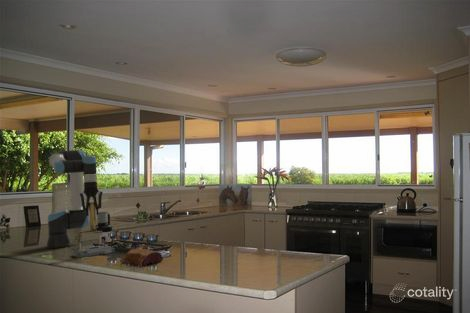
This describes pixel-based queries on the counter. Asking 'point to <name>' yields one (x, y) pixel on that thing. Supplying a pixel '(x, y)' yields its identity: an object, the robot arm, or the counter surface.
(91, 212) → the brass pin
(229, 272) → the counter surface
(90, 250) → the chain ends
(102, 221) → the milk frother
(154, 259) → the cured meat
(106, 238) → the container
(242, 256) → the counter surface
